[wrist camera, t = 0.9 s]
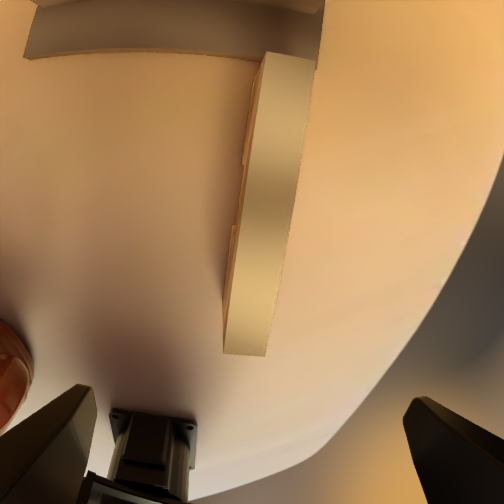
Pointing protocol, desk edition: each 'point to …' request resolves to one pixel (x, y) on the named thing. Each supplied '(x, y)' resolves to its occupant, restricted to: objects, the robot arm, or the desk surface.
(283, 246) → the oak plate
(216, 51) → the joint base
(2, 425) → the mug
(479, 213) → the desk surface
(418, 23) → the desk surface
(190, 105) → the desk surface
